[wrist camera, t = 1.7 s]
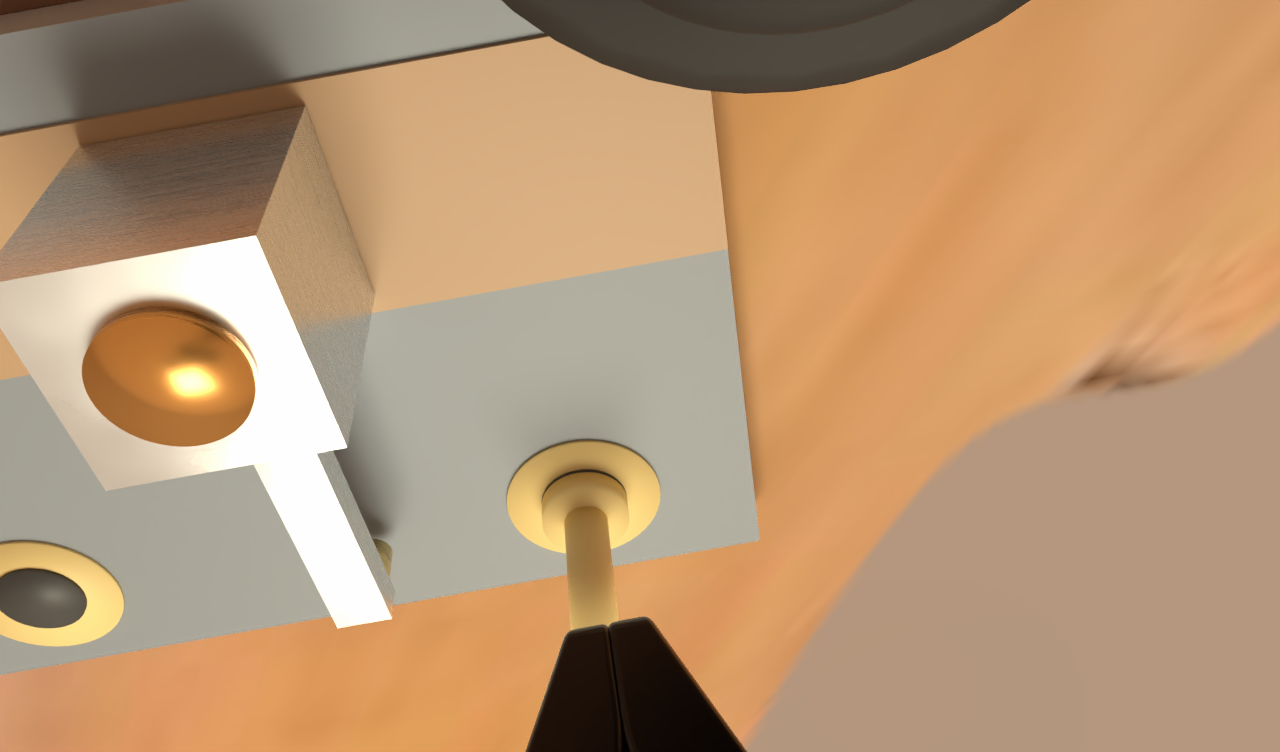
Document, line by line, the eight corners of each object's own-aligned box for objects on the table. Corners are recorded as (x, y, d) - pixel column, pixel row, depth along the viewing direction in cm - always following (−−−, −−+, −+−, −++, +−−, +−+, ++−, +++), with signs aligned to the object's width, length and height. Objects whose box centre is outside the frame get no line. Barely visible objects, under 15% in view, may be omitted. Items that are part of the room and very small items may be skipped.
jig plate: (680, -110, 18) (734, -10, 14) (750, 506, 27) (796, 681, 23) (-577, 120, 18) (-912, 290, 14) (-82, 654, 27) (-191, 855, 23)
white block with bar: (305, 105, 18) (251, 246, 14) (463, 537, 25) (455, 712, 21) (78, 146, 18) (-36, 298, 14) (297, 567, 25) (259, 746, 21)
